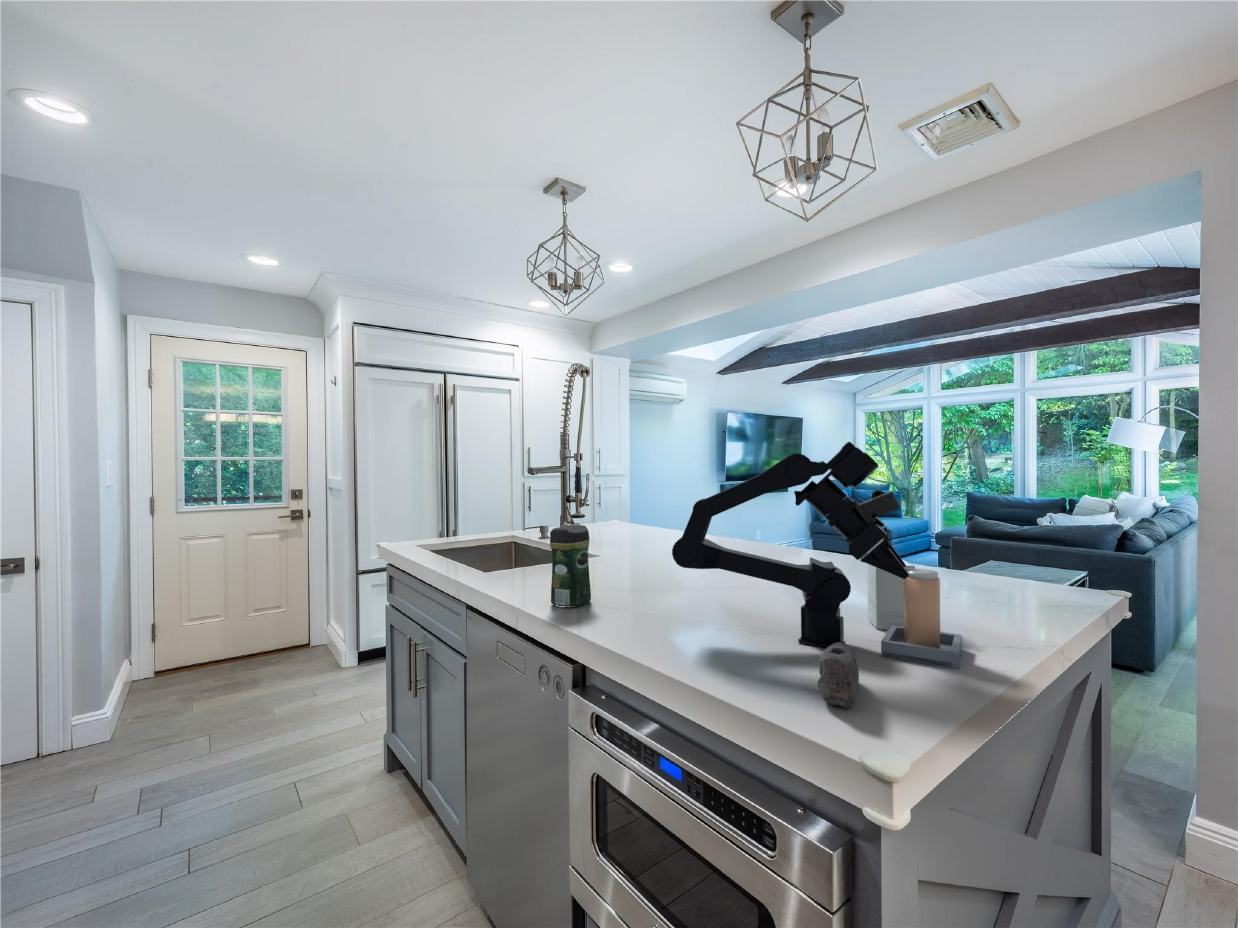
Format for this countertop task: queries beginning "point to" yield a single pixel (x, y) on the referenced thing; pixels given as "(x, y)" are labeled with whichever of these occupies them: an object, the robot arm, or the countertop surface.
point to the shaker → (922, 608)
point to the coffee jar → (570, 565)
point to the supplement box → (885, 597)
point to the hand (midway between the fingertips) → (905, 572)
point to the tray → (922, 649)
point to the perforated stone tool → (838, 675)
